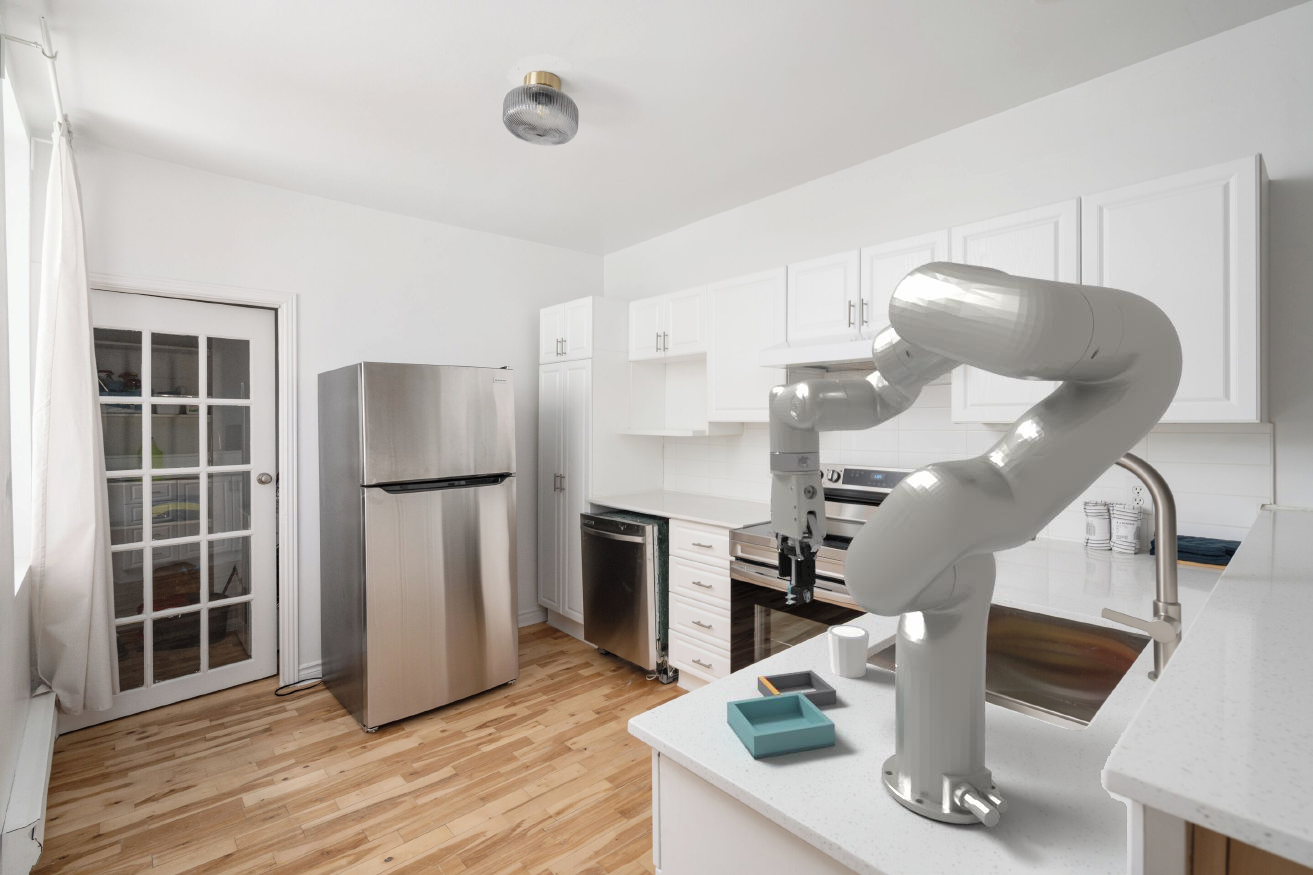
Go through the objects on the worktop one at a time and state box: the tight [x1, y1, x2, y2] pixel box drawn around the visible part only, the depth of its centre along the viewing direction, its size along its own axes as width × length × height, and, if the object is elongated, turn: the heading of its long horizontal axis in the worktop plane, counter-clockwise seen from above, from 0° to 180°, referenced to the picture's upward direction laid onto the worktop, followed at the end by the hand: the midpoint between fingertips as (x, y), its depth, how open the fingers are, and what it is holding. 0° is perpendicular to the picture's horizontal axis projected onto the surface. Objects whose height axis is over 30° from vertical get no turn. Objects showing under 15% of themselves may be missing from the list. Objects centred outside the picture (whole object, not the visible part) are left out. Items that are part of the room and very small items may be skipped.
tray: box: [726, 691, 836, 760], centre depth 84 cm, size 10×12×3 cm
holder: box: [757, 669, 837, 707], centre depth 95 cm, size 8×10×2 cm
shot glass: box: [827, 624, 870, 679], centre depth 104 cm, size 7×7×7 cm
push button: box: [783, 535, 815, 606], centre depth 93 cm, size 7×5×10 cm
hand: (796, 579), depth 94 cm, fingers closed on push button, 4 cm apart
